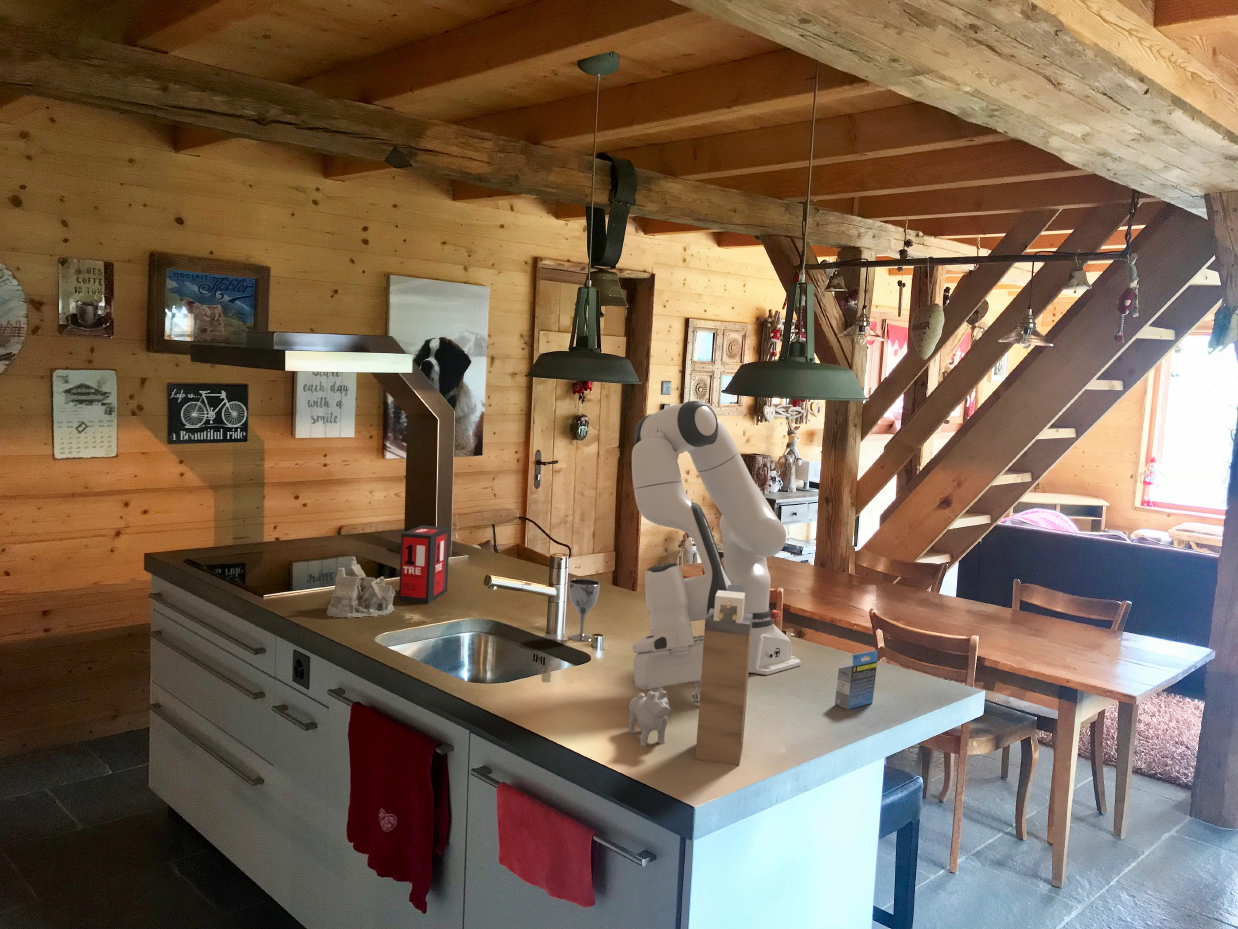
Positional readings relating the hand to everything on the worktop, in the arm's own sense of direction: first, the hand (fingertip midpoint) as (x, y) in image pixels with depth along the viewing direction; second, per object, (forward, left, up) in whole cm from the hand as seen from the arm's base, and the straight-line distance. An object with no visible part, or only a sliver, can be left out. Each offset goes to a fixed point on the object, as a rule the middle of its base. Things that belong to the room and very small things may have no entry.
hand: (681, 706), depth 199 cm
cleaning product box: (+12, -111, -1) cm, 111 cm away
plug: (+5, +19, +25) cm, 32 cm away
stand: (+8, +22, -1) cm, 23 cm away
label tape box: (-38, +13, -1) cm, 40 cm away
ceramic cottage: (+35, -99, -1) cm, 105 cm away
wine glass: (-9, -55, -1) cm, 55 cm away
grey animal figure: (+16, +11, -1) cm, 19 cm away
